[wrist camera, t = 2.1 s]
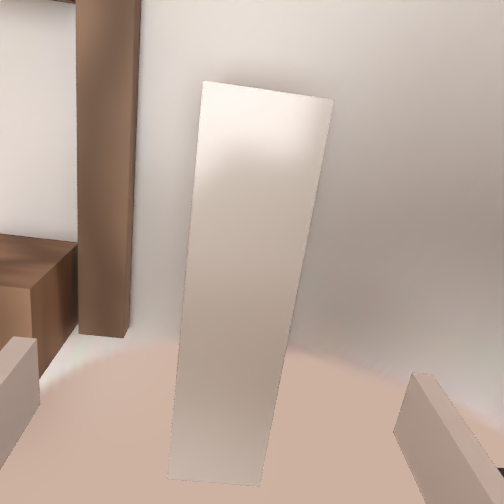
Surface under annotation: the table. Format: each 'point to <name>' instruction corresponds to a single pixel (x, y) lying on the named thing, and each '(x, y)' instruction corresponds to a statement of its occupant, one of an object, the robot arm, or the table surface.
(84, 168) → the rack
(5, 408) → the robot arm
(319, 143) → the light grey rectangular block
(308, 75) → the table surface
